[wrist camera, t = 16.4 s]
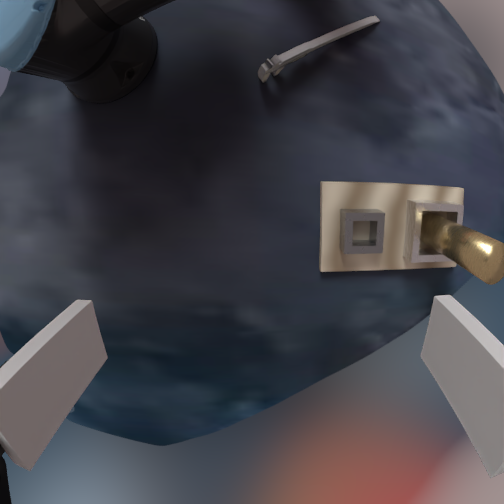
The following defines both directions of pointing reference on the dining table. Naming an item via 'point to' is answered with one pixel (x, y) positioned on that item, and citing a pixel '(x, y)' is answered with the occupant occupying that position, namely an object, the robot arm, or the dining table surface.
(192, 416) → the dining table surface
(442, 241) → the brass cylinder
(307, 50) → the caliper
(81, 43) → the robot arm
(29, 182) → the dining table surface
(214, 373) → the dining table surface
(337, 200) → the fitting board
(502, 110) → the dining table surface
